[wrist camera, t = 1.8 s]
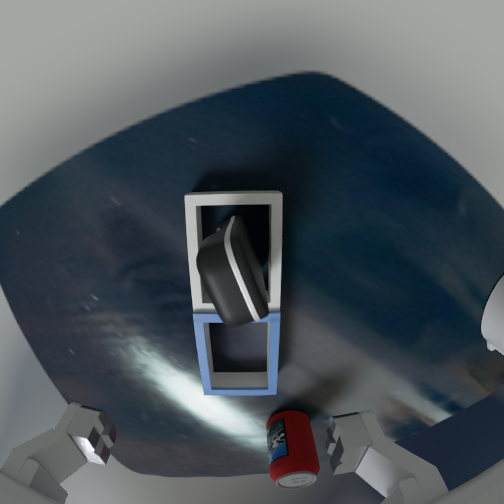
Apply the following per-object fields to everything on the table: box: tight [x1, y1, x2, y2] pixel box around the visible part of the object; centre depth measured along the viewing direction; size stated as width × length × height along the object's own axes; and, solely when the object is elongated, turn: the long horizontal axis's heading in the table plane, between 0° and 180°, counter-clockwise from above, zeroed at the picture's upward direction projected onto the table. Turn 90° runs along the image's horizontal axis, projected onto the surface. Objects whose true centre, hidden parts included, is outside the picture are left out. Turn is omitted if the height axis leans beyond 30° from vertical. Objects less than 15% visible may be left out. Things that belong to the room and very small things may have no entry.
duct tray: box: [185, 191, 282, 395], centre depth 30 cm, size 9×24×4 cm, turn 1°
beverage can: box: [266, 410, 320, 489], centre depth 33 cm, size 7×7×12 cm
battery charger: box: [196, 215, 269, 327], centre depth 25 cm, size 7×4×11 cm, turn 20°
